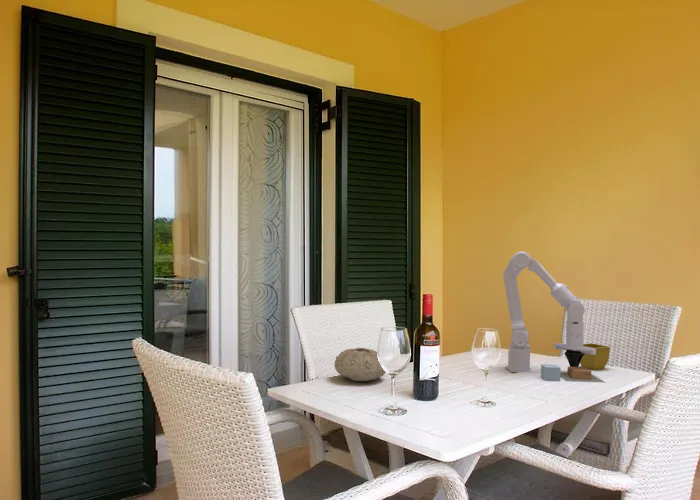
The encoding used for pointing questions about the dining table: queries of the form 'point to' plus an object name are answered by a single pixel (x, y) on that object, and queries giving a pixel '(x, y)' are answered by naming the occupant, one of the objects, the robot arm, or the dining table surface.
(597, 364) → the flower pot
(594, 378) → the letter mat
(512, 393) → the dining table surface
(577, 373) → the walnut block
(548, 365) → the blue cube
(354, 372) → the grey rounded lump
